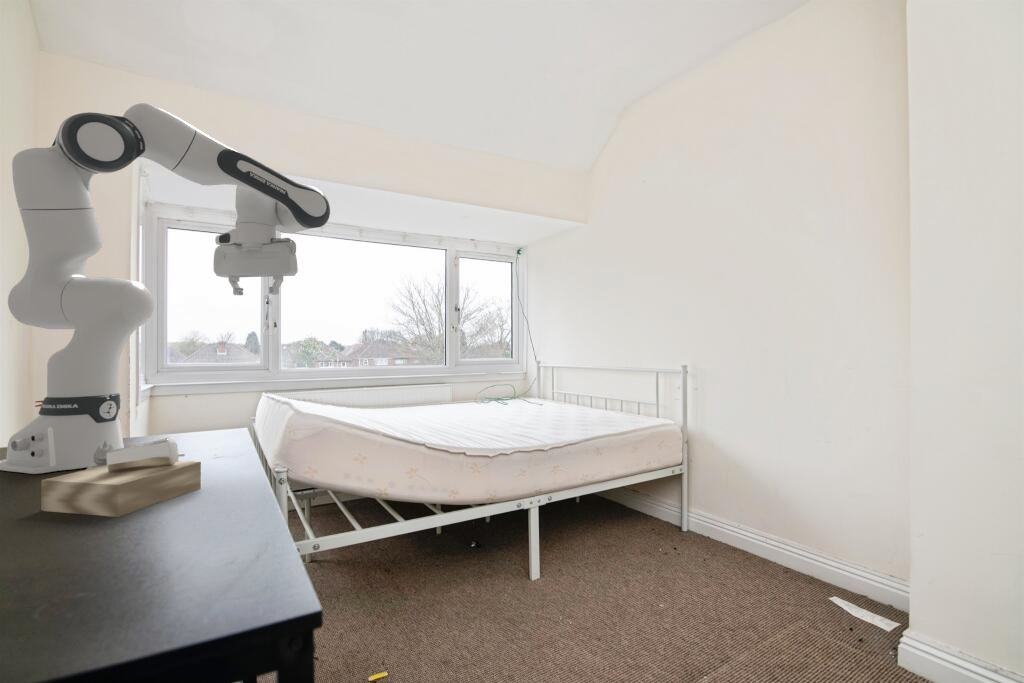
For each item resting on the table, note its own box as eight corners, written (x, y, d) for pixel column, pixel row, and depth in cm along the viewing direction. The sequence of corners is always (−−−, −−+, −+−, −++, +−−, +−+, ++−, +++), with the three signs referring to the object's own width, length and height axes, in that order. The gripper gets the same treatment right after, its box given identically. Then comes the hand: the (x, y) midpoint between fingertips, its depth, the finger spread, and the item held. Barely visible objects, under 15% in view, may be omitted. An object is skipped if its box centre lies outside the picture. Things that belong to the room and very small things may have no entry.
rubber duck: (83, 492, 80) (84, 444, 80) (84, 483, 85) (85, 438, 85) (125, 485, 83) (125, 439, 84) (124, 478, 88) (124, 434, 89)
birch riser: (41, 514, 71) (41, 480, 71) (133, 487, 85) (133, 458, 85) (118, 520, 68) (118, 484, 68) (200, 491, 82) (200, 461, 82)
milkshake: (110, 482, 76) (185, 467, 82) (106, 471, 72) (186, 456, 78) (109, 455, 78) (183, 442, 84) (105, 443, 74) (183, 431, 80)
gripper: (302, 240, 120) (302, 295, 120) (227, 242, 122) (227, 296, 122) (288, 234, 114) (288, 292, 114) (208, 237, 116) (208, 294, 116)
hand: (256, 294), depth 118 cm, fingers open, 8 cm apart
